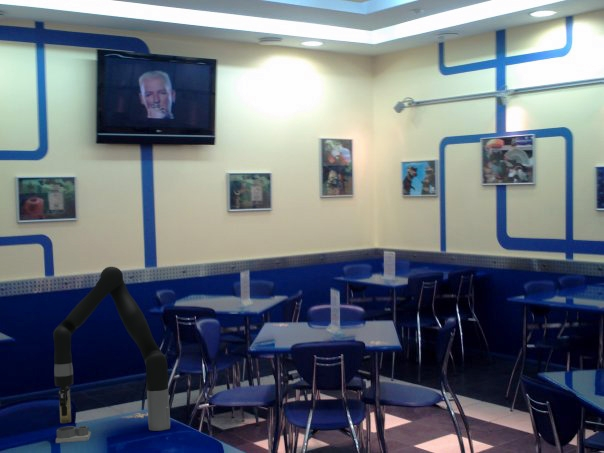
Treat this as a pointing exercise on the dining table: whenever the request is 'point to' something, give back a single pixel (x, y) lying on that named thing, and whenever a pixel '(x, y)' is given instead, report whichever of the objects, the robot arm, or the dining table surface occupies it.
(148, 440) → the dining table surface
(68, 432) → the grey mounting plate
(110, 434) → the dining table surface
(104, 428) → the dining table surface
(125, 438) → the dining table surface
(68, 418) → the brass cylinder
